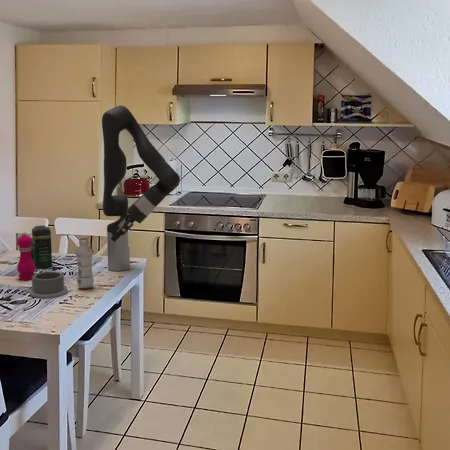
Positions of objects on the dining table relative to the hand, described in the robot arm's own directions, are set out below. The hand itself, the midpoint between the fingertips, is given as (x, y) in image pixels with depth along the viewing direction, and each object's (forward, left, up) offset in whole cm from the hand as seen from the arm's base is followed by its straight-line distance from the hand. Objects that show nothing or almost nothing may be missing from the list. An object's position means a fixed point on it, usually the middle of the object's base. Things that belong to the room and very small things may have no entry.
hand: (112, 237), depth 217 cm
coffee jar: (-10, -46, -20) cm, 51 cm away
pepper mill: (+7, -39, -20) cm, 45 cm away
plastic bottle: (+6, -9, -20) cm, 23 cm away
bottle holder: (+17, -18, -20) cm, 32 cm away
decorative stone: (-18, -59, -20) cm, 65 cm away
